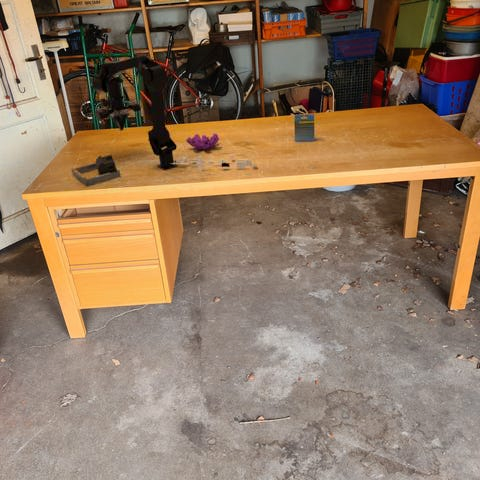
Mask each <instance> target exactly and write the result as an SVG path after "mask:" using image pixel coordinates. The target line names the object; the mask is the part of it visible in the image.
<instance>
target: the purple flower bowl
mask: <svg viewBox="0 0 480 480" xmlns="http://www.w3.org/2000/svg"><path fill="white" fill-rule="evenodd" d="M201 136H202V137H201ZM201 136H200V135H199V134H198V133H196V134H195V135H194V136H193V137H190V136H189V137H187V138H186V140H185V141H186V142H187V144H188V145H190V146H192V147H193V148H195V149H197V150H208V149H209V148H213V147H214V146H216V144H218V142H219V140H220V137H219V134H216V133H213V134H212V136H210V137H209V136H207V135H206V134H204V135H201Z"/></svg>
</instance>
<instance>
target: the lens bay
mask: <svg viewBox="0 0 480 480" xmlns="http://www.w3.org/2000/svg"><path fill="white" fill-rule="evenodd" d="M96 170H98V169H97V166H96V162H93V163H90V164H86V165H83V166H79V167H75V168H72V169H71V172H72V176H73V177H75V178H76V179H77V180H78V181H80V182H81V183H82V184H83V185H85V186H86V187H90V186H94V185H97V184H101V183H104V182H107V181H111V180H115V179H117V178H121V172H120V170H118V169H117V171H114V172H111V173H106V174H102V175H100V174H99V175H95V176H93V177H90V178H89V177H88V178H87V177H86V176H85V175H83V174H85V173H89V172H92V171H96Z"/></svg>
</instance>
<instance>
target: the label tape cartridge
mask: <svg viewBox="0 0 480 480" xmlns="http://www.w3.org/2000/svg"><path fill="white" fill-rule="evenodd" d="M314 141H315V113H313V114H312V113H311V114H294V142H295V143H297V142H298V143H299V142H314Z"/></svg>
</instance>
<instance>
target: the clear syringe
mask: <svg viewBox="0 0 480 480" xmlns="http://www.w3.org/2000/svg"><path fill="white" fill-rule="evenodd" d="M234 156H235V155H234V154H233V153H231V154H230V156H229V157H230V158H231V159H233V158H234ZM181 157H182V158H181V159H182V160H174V163H170V164H177V165H188V166H189V165H190V163H191V164H196V165H197V168H198V169H197V170H198V172H203V166H205V165H206V166H207V167H209V166H210V165H211V164H212V165H213V164H214V163H217V166H221V168H230V165H231V162H227V161H224V158H221V159H220V161H214V160H211V159H210V160H209V161H208V162H206V161H204V159H203V157H202V156H201V155H197V158H191V159H190V161H189V162H188V156H181ZM251 162H252V159H246V158H245V159H241V158H240V159H237V161H234V163H235V164H236V166H235V169H244V168H246V167H247V166H253V167H257V166H258V164H257V163H251Z"/></svg>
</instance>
